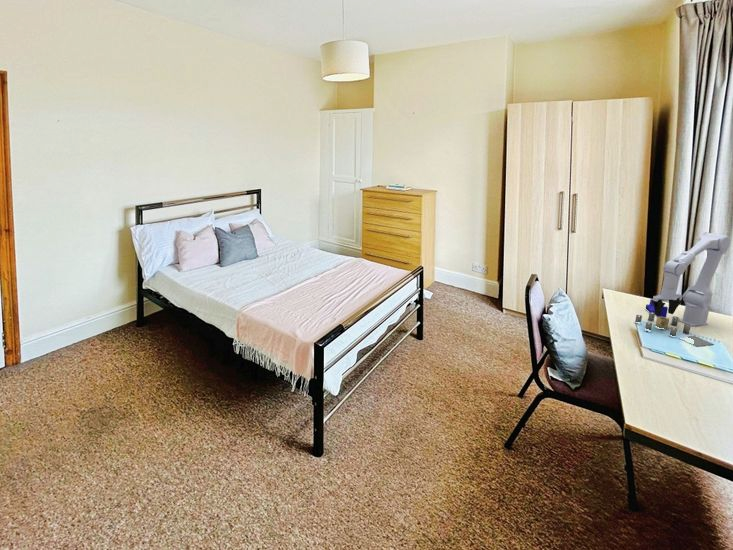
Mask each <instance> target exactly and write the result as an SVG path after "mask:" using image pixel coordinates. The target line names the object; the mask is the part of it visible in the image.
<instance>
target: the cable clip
mask: <svg viewBox="0 0 733 550" xmlns="http://www.w3.org/2000/svg"><path fill="white" fill-rule="evenodd" d="M652 299H653V298H652ZM652 299H650V300H649V304H645V308H646V309H647V310H648V311H649V312H654V313H655V310H654V305H653V303H652ZM668 308H669V306H665V305H664V306H663V308H662V311H661V314H660V316H659V317H666V318H667V315H668ZM647 310H646V311H647ZM648 311H647V312H648ZM649 312H648V313H649ZM655 316H656V318H657V317H658V315H655Z"/></svg>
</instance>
